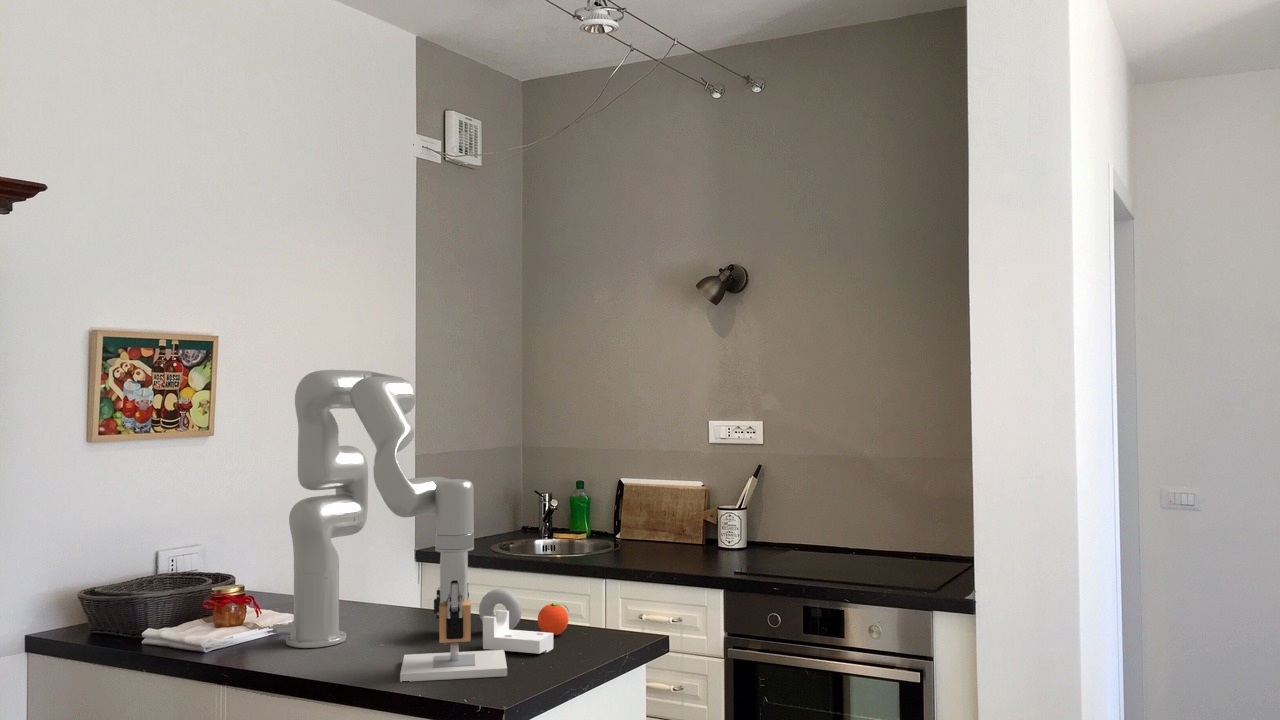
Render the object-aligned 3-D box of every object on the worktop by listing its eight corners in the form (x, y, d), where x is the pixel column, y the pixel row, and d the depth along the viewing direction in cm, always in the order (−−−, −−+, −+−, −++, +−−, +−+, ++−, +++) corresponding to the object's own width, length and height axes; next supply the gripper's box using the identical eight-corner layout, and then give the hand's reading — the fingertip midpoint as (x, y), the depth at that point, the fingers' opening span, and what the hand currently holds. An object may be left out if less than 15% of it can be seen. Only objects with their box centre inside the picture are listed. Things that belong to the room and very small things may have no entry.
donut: (523, 632, 227) (523, 587, 227) (518, 635, 223) (518, 590, 224) (482, 630, 229) (482, 586, 229) (476, 633, 225) (476, 589, 226)
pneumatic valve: (469, 629, 230) (469, 576, 230) (455, 642, 218) (455, 586, 218) (446, 628, 230) (446, 576, 231) (430, 641, 219) (430, 586, 219)
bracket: (482, 653, 210) (482, 617, 210) (498, 645, 217) (498, 610, 217) (539, 658, 206) (539, 621, 206) (553, 649, 212) (553, 613, 213)
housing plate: (400, 681, 188) (400, 655, 188) (404, 662, 202) (404, 637, 202) (507, 676, 192) (507, 650, 192) (504, 657, 205) (504, 633, 206)
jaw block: (439, 642, 194) (439, 606, 194) (439, 637, 199) (439, 601, 199) (470, 641, 195) (470, 605, 195) (470, 635, 200) (470, 600, 200)
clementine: (559, 629, 230) (559, 598, 230) (578, 634, 225) (578, 602, 225) (531, 635, 224) (531, 603, 224) (550, 640, 219) (550, 608, 219)
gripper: (436, 537, 205) (436, 626, 205) (434, 549, 189) (434, 647, 188) (473, 535, 207) (473, 624, 206) (474, 548, 190) (474, 644, 189)
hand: (454, 634), depth 197 cm, fingers closed on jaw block, 4 cm apart
